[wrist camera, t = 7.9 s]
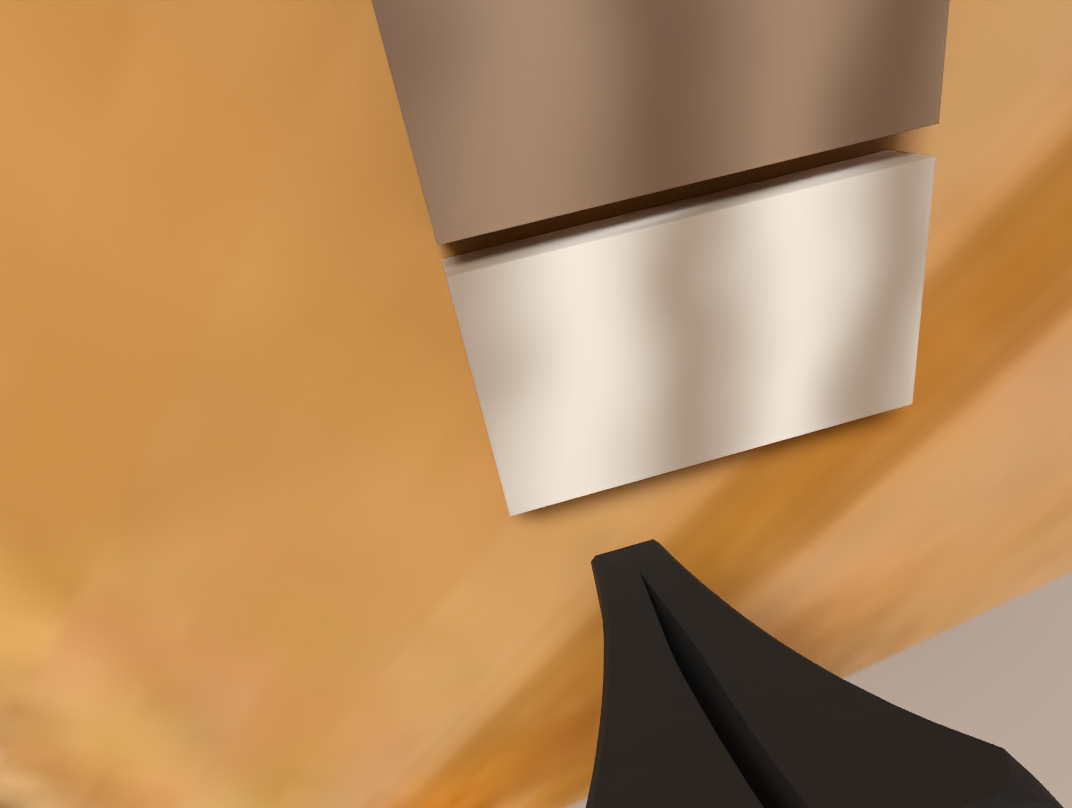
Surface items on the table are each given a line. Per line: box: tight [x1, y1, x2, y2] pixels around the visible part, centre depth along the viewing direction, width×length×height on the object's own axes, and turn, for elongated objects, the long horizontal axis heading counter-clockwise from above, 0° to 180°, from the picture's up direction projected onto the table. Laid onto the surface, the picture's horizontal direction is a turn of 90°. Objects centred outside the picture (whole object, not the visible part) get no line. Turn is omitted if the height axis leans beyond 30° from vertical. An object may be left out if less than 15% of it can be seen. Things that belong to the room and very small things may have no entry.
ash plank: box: [442, 150, 936, 516], centre depth 20 cm, size 14×8×2 cm, turn 102°
